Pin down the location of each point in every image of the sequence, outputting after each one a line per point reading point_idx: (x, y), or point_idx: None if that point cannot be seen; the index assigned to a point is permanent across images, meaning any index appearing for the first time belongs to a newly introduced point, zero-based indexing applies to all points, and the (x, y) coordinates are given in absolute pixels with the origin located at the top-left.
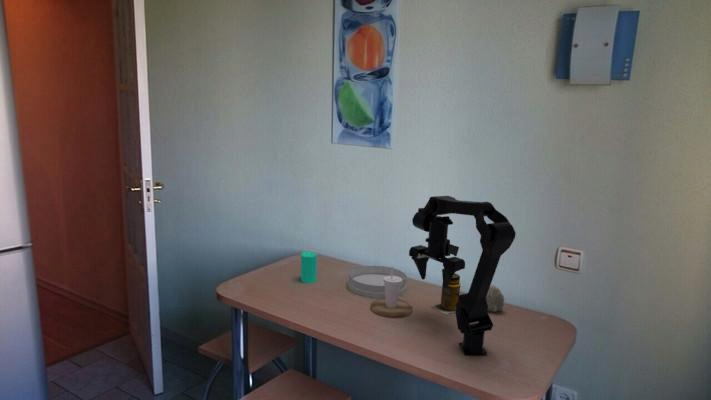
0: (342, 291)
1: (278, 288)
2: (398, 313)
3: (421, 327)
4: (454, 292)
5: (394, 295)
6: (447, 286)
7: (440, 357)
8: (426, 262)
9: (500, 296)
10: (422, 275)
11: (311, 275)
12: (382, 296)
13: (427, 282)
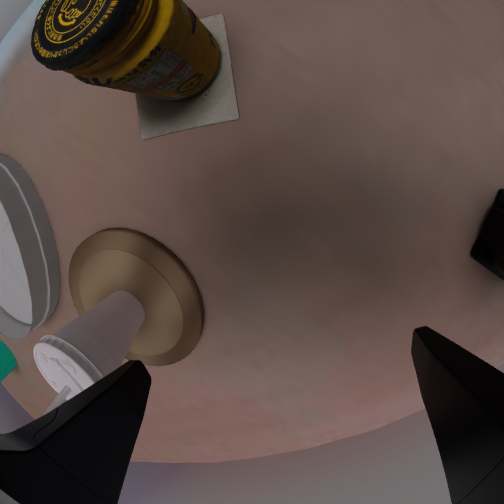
0: (35, 337)
1: (47, 407)
2: (189, 322)
3: (309, 295)
4: (186, 35)
5: (125, 350)
6: (436, 333)
7: (470, 342)
8: (37, 459)
9: None
10: (140, 412)
11: (5, 366)
12: (56, 280)
13: (2, 70)
